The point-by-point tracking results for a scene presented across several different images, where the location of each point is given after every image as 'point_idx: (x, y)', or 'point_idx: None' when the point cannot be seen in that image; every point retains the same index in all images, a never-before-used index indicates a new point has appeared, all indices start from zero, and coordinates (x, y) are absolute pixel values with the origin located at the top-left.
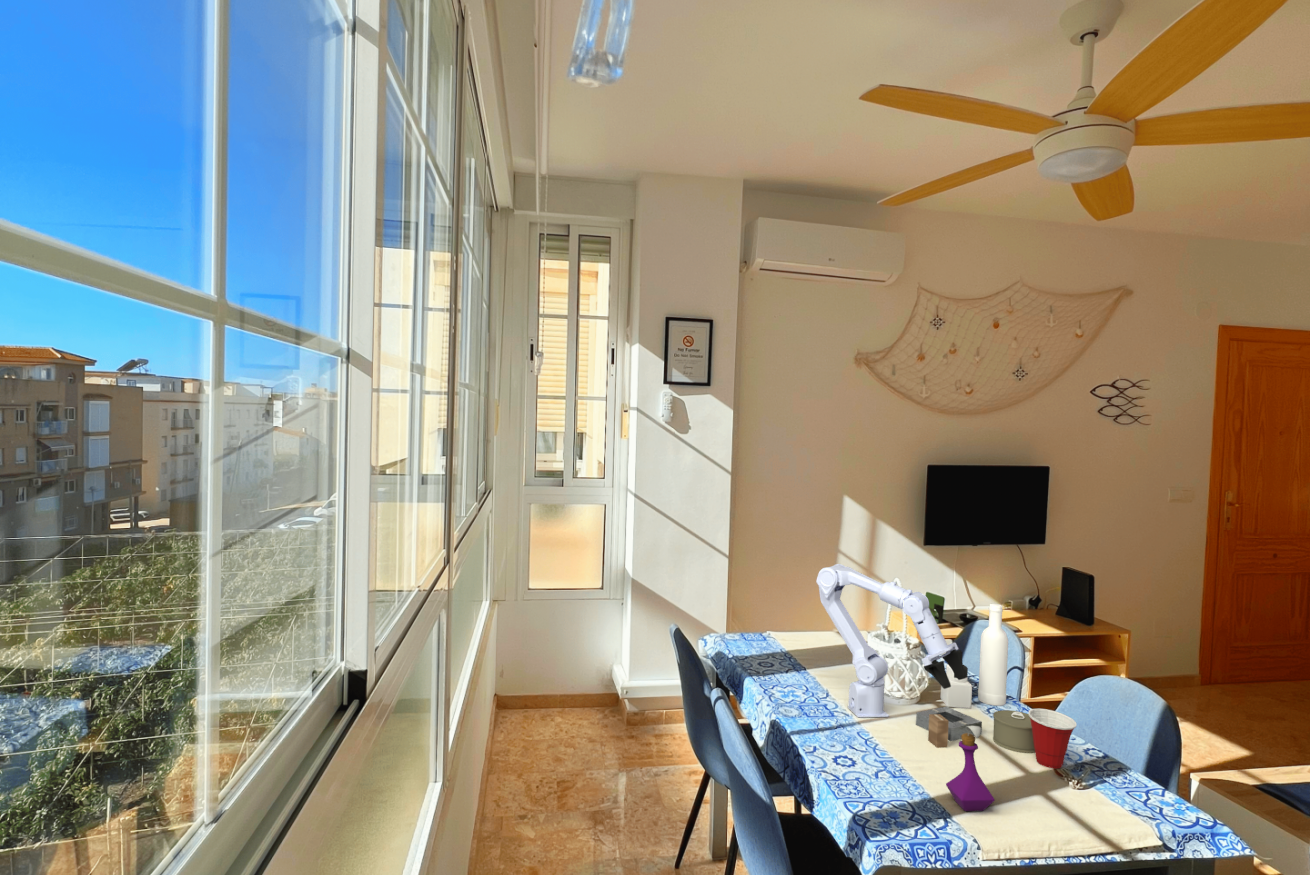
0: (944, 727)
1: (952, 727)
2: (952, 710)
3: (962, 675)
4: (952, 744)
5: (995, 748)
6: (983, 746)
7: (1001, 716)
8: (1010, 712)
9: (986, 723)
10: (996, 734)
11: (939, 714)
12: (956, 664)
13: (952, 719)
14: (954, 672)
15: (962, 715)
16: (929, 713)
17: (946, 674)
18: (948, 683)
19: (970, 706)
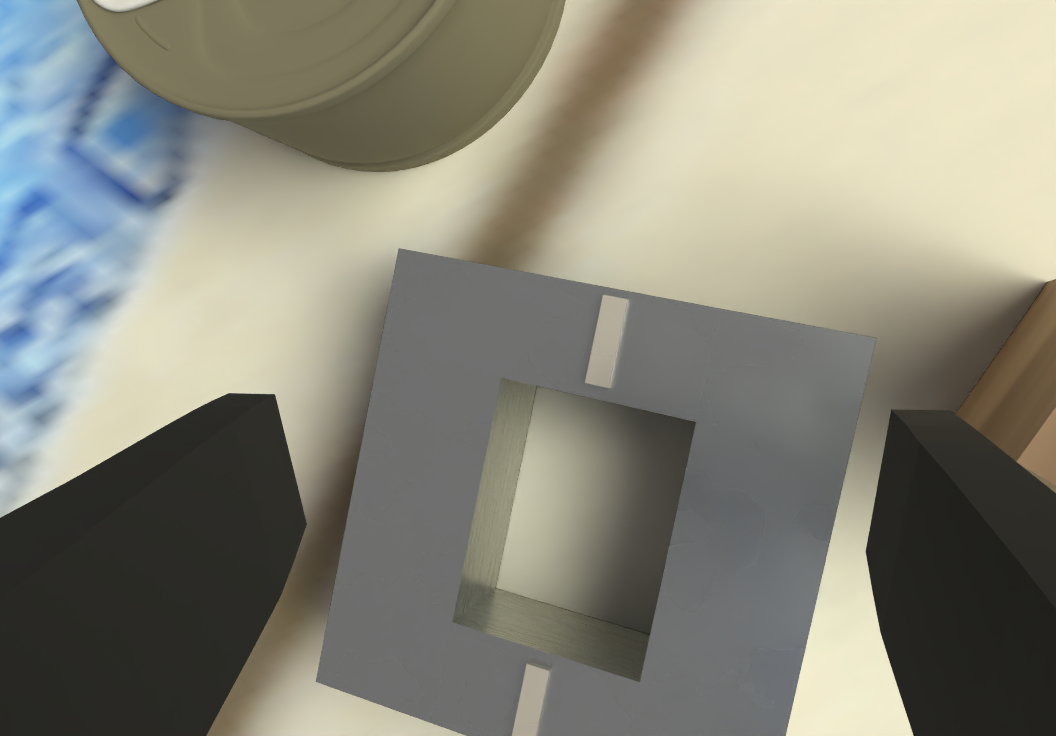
0: None
1: (837, 343)
2: (365, 588)
3: (248, 449)
4: (918, 293)
5: (641, 19)
6: (693, 102)
7: (318, 22)
8: (150, 29)
9: (197, 364)
10: (509, 47)
11: (1030, 459)
12: (70, 698)
13: (487, 522)
14: (226, 668)
15: (407, 454)
16: (656, 719)
17: (1043, 587)
18: (998, 448)
19: None
